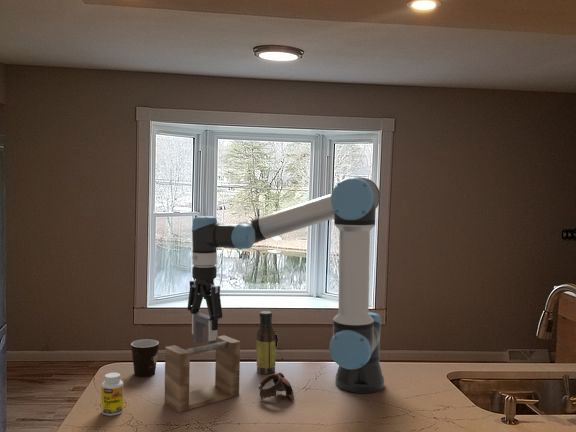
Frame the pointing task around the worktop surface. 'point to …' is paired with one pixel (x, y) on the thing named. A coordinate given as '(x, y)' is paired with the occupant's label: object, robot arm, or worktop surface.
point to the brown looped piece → (276, 386)
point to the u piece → (201, 328)
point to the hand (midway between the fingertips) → (204, 336)
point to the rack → (180, 369)
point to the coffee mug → (144, 357)
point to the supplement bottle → (112, 395)
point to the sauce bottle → (265, 344)
